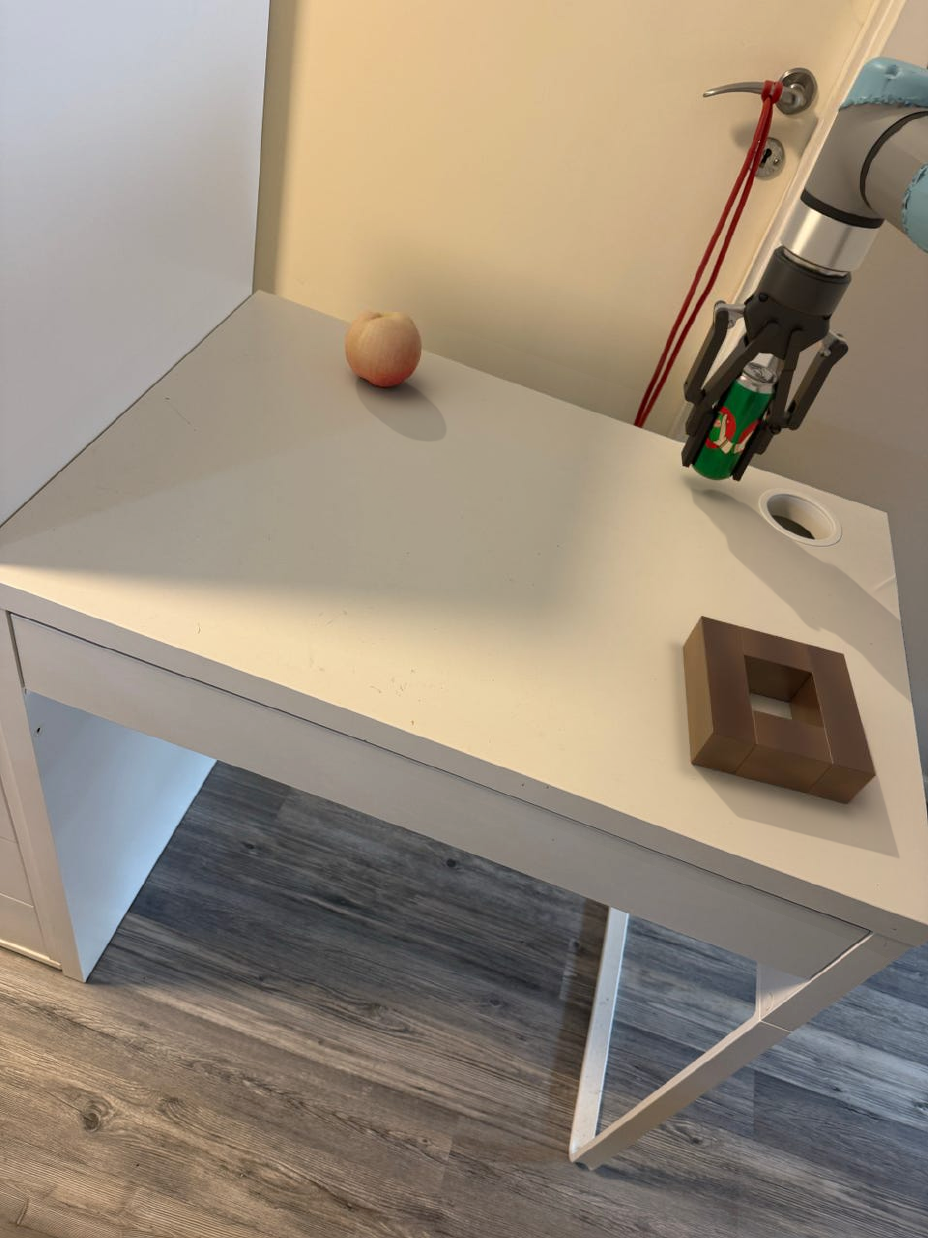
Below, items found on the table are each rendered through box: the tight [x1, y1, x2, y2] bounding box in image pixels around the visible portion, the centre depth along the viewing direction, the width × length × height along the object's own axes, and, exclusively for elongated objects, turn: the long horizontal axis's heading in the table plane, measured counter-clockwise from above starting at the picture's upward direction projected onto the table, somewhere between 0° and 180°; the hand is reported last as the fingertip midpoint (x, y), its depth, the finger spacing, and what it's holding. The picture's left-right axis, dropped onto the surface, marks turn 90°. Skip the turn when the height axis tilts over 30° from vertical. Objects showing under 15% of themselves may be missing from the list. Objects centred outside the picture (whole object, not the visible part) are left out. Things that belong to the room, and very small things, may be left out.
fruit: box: [344, 311, 423, 388], centre depth 93 cm, size 8×8×8 cm
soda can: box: [690, 361, 778, 481], centre depth 89 cm, size 5×5×12 cm
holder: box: [682, 615, 877, 804], centre depth 69 cm, size 13×13×4 cm
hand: (710, 466), depth 93 cm, fingers closed on soda can, 5 cm apart
